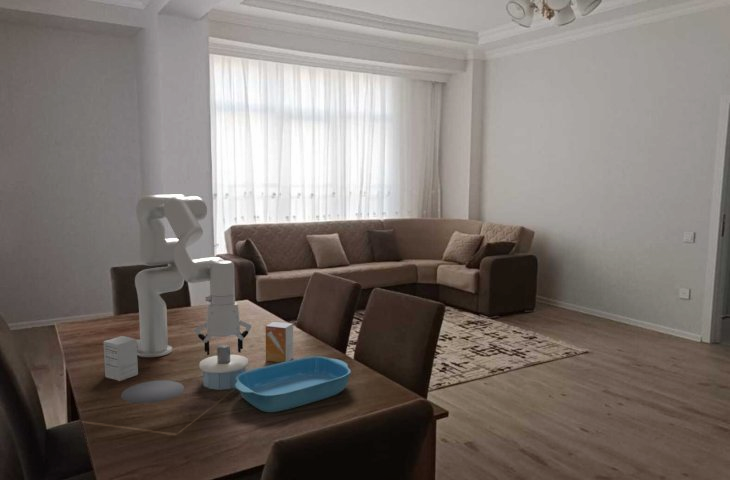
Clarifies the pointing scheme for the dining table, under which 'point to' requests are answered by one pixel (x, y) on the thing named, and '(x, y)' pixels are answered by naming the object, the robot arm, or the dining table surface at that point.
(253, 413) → the dining table surface
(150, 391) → the mat
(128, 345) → the supplement box
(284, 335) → the small box
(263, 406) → the casserole dish
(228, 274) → the robot arm
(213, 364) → the lid
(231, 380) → the bowl
